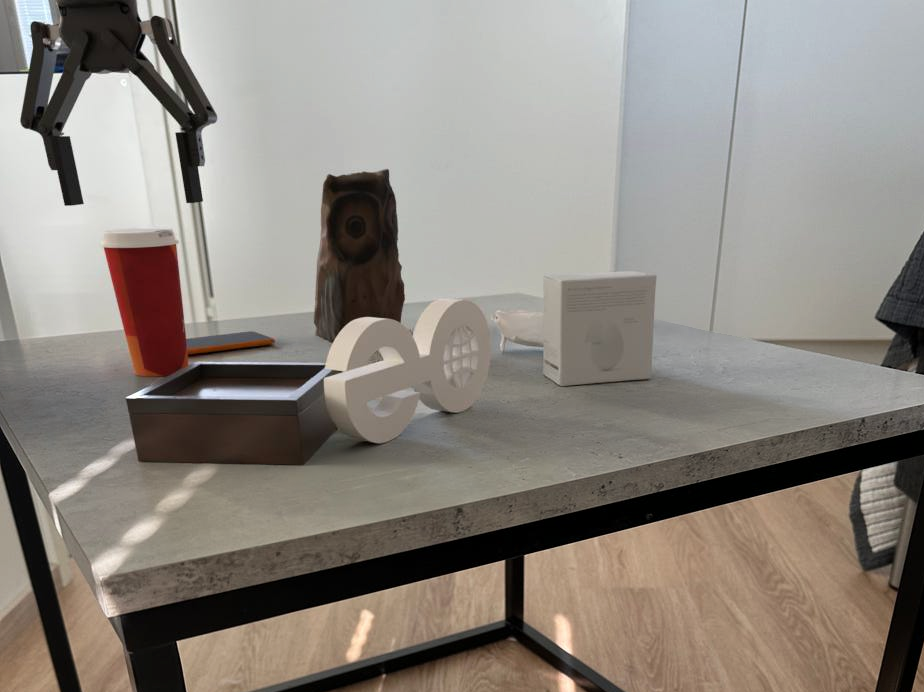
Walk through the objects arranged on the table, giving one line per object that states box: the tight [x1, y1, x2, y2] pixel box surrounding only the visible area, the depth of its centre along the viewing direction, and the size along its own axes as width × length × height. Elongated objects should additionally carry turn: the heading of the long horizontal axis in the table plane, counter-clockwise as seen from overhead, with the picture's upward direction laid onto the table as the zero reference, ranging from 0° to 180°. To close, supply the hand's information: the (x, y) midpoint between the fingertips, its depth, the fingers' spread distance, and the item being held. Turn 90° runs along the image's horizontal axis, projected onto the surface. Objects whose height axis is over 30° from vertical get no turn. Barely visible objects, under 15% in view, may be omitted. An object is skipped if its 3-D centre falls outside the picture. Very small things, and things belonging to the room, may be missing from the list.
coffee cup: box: [99, 227, 189, 378], centre depth 103 cm, size 8×8×15 cm
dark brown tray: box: [125, 361, 343, 466], centre depth 80 cm, size 14×14×5 cm
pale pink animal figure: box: [490, 309, 544, 354], centre depth 112 cm, size 5×7×10 cm
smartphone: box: [186, 330, 276, 356], centre depth 118 cm, size 8×17×1 cm, turn 125°
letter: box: [324, 297, 492, 444], centre depth 82 cm, size 22×2×10 cm, turn 148°
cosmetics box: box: [542, 270, 657, 387], centre depth 98 cm, size 10×6×10 cm, turn 104°
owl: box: [313, 168, 406, 344], centre depth 118 cm, size 13×13×20 cm
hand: (134, 204), depth 99 cm, fingers open, 13 cm apart
